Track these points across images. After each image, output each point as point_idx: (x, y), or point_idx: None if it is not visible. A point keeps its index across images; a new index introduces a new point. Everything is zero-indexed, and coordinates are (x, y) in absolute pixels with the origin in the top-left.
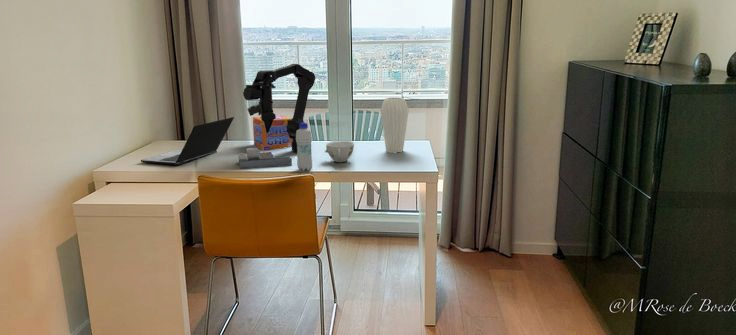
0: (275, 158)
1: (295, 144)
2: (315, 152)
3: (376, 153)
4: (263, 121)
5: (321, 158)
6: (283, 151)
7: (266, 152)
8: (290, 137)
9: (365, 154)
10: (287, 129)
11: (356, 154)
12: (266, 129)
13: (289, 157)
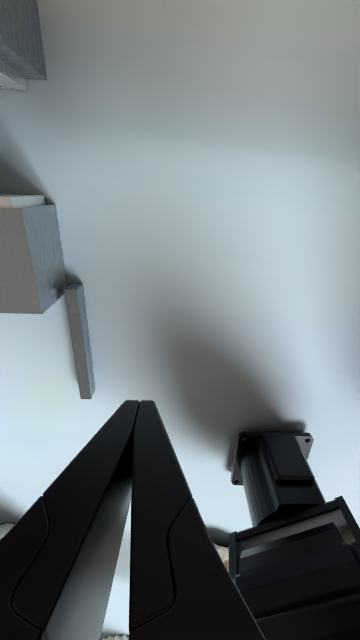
0: (71, 320)
1: (263, 479)
2: (223, 500)
3: (122, 619)
4: (208, 633)
5: None
6: (333, 390)
7: (26, 277)
8: (337, 504)
9: (115, 600)
10: (351, 575)
11: (123, 585)
12: (96, 443)
13: (82, 394)
